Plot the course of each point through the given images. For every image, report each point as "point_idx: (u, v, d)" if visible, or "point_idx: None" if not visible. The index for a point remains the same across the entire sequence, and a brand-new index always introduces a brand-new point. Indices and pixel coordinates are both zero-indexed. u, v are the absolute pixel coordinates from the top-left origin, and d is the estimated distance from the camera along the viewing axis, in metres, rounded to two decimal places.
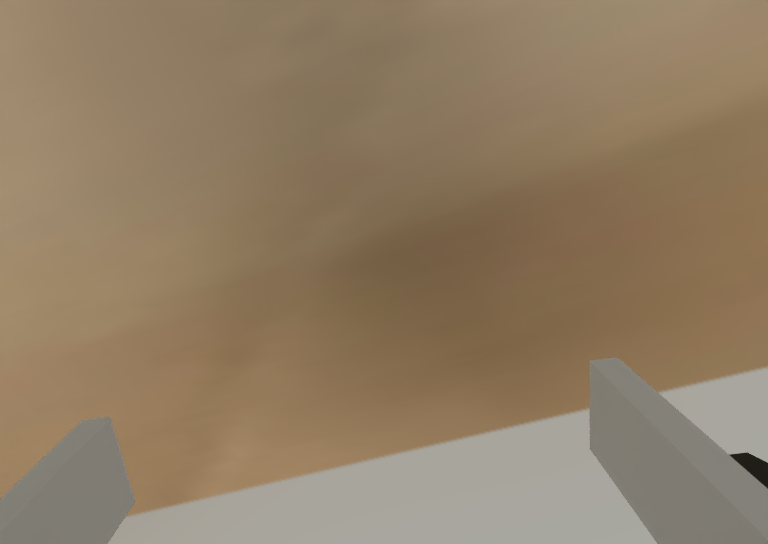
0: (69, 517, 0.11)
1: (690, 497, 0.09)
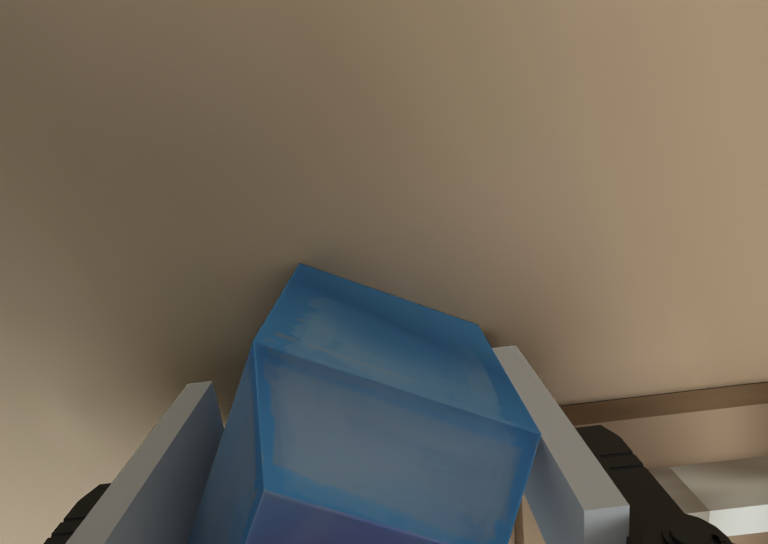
0: (192, 464, 0.12)
1: (540, 461, 0.10)
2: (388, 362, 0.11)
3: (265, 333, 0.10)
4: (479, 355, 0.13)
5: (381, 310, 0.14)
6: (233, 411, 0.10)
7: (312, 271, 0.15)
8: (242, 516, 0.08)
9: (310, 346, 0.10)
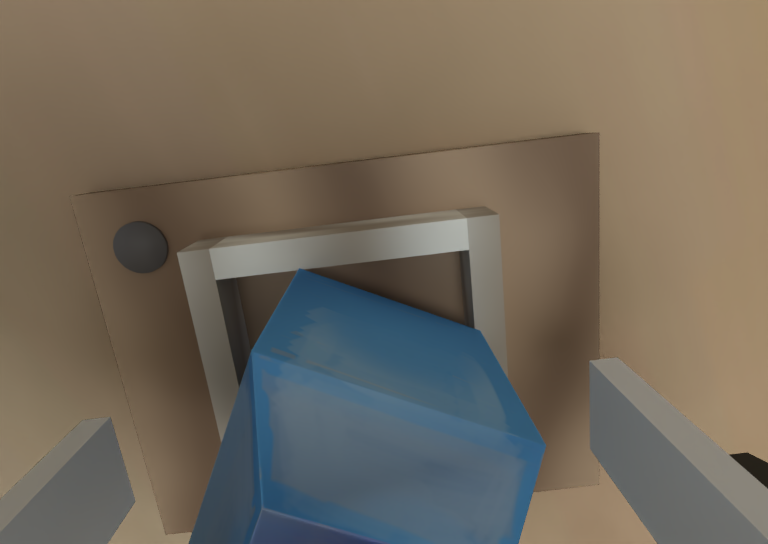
0: (69, 517, 0.11)
1: (690, 497, 0.09)
2: (389, 371, 0.10)
3: (264, 343, 0.10)
4: (482, 362, 0.13)
5: (382, 317, 0.14)
6: (231, 423, 0.09)
7: (312, 276, 0.15)
8: (239, 534, 0.08)
9: (310, 356, 0.10)
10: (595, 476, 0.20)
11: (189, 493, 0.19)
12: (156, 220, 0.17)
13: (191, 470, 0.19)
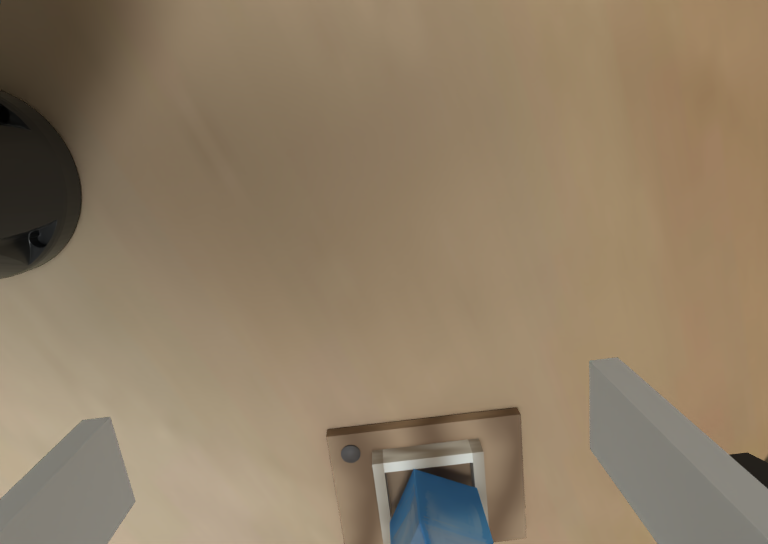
0: (69, 517, 0.11)
1: (690, 497, 0.09)
2: (452, 521, 0.39)
3: (421, 517, 0.38)
4: (477, 509, 0.41)
5: (445, 492, 0.42)
6: (414, 538, 0.38)
7: (419, 473, 0.43)
8: None
9: (432, 519, 0.38)
10: (524, 535, 0.48)
11: (358, 542, 0.48)
12: (357, 444, 0.45)
13: (360, 533, 0.47)
